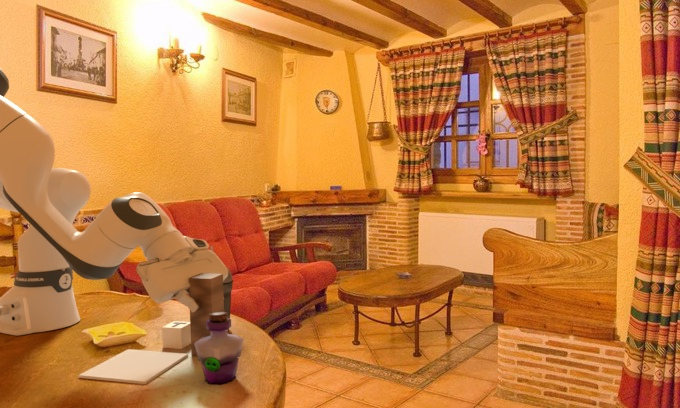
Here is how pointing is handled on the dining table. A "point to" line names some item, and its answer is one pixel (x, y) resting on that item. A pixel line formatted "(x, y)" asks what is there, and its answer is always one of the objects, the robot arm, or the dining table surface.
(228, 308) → the beverage cup
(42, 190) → the robot arm
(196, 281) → the walnut block
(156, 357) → the white square plate
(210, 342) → the potion bottle
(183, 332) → the letter cube
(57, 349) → the dining table surface
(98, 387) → the dining table surface
